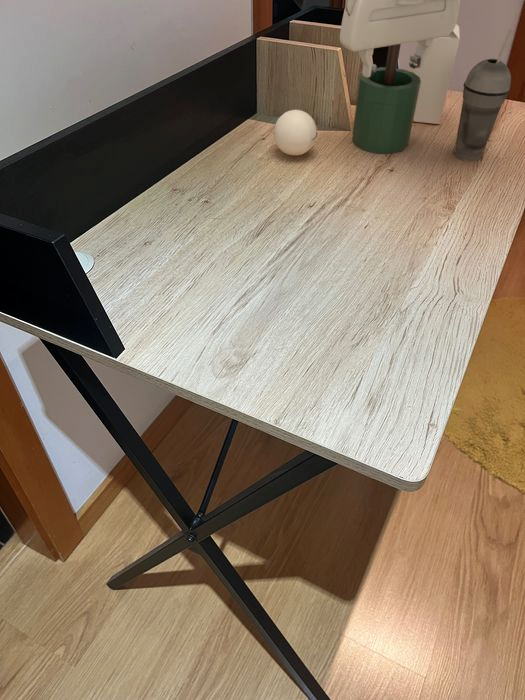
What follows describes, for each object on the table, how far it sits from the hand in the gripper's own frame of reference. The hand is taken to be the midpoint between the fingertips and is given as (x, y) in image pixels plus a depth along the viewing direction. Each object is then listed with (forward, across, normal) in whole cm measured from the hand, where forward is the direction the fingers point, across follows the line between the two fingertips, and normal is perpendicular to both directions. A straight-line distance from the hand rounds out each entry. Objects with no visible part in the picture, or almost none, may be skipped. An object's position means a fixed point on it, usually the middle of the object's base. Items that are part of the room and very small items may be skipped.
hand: (392, 71), depth 95 cm
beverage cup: (+12, +11, -11) cm, 20 cm away
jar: (+12, 0, 0) cm, 12 cm away
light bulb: (+12, -16, +3) cm, 20 cm away
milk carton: (+12, +14, +6) cm, 19 cm away
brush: (+11, 0, 0) cm, 11 cm away
